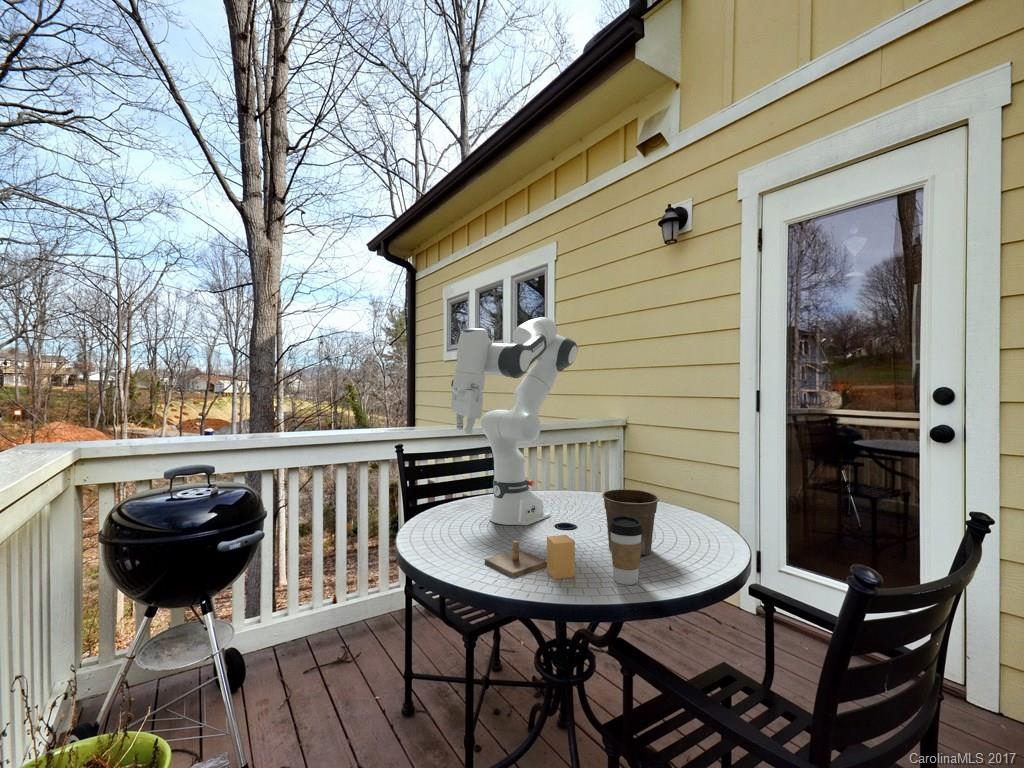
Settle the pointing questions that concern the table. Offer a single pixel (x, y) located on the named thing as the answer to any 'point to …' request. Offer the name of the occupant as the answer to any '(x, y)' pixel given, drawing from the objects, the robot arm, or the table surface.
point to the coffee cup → (626, 548)
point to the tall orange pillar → (560, 556)
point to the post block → (515, 561)
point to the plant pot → (633, 511)
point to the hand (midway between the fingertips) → (463, 431)
